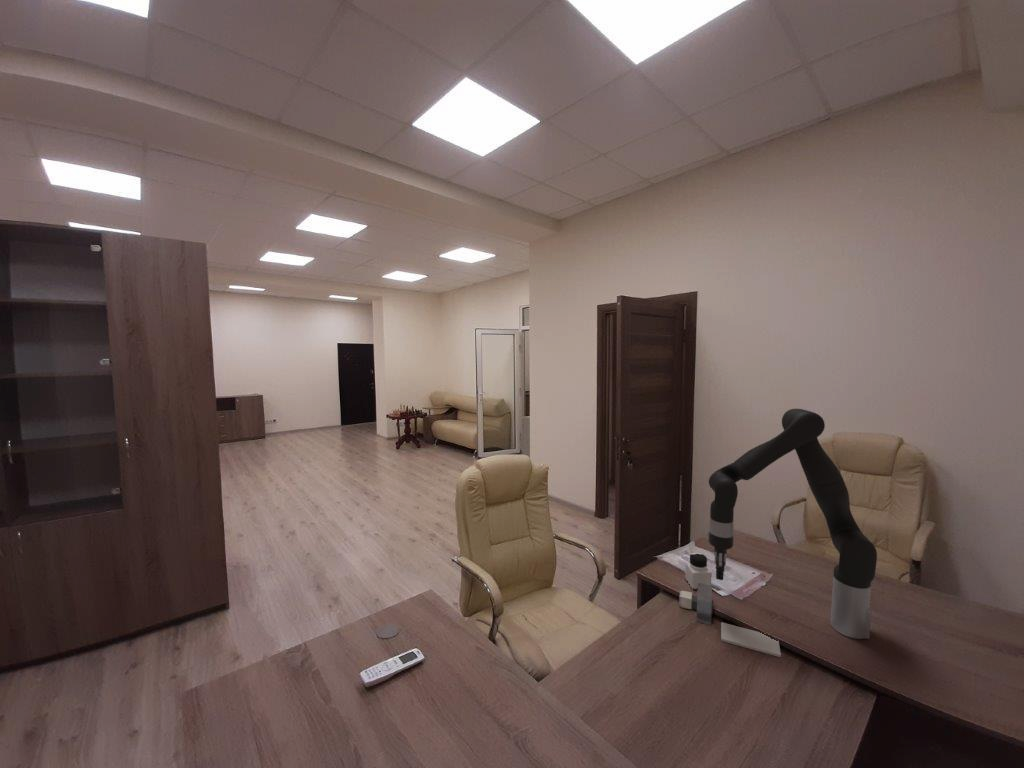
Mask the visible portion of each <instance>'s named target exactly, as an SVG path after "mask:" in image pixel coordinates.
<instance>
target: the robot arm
mask: <svg viewBox="0 0 1024 768" xmlns="http://www.w3.org/2000/svg"><path fill="white" fill-rule="evenodd" d="M781 425H782V426H781V427H782V429H783V430H782V432H780V433H779V434H777V435H776V436H775V437H773V438H771V439H769V440H768V441H766V442H762V443H761V444H759V445H757V446H755V447H753V448H751V449H750V450H748V451H746V452H745V453H744V454H742V455H741V456H740V457H738V458H737V459H735V461H734V462H732V463H729V464H727V465H725V466H723V467H721V468H718V469H717V470H716V471H714V472H713V473H712V474H711V475H710V476H709V478H708V485H709V487H710V488H711V489H712V490H713V492H714V499H713V500H712V501H711V503H710V507H709V508H710V509H709V515H710V517H709V521H708V522H709V523H708V543H709V545H711V546H712V547H713V555H714V564H715V570H716V571H715V578H716V580H720V581H723V580H724V572H725V566H726V565H727V558H728V550H730V549H732V548H733V547H734V540H735V539H734V535H735V525H734V515H735V513H734V509H735V506H736V503H737V500H738V499H737V498H738V491H739V490H738V485H737V482H739V481H741V480H743V481H749V480H751V479H753V478H754V477H755V476H757V475H758V474H759V473H761V472H762V471H763V470H765V469H766V468H768V466H770V465H772V464H773V463H775V462H776V461H777V460H779V459H781V458H782V457H784V456H786V455H787V454H789V453H791V452H793V451H794V450H795V453H796V455H797V457H798V461H799V462H800V466H801V468H802V470H803V473H804V475H805V477H806V478H805V479H806V481H807V484H808V486H809V488H810V490H811V493H812V495H813V497H814V499H815V501H816V503H817V505H818V506H819V508H820V510H821V512H822V513H823V515H824V518H825V521H826V524H827V527H828V531H829V535H830V539H831V541H832V545H833V547H834V548H835V549H836V550H837V551H836V552H838V553H839V560H838V564H837V565H835V566H834V568H833V576H832V593H831V606H830V620H829V621H830V626H831V627H832V628H833V629H834V630H835V631H836V632H837V633H839V634H841V635H843V636H845V637H847V638H851V639H856V640H863V639H867V640H870V635H871V622H872V610H871V608H870V602H871V600H870V599H871V587H872V582H873V580H874V579H875V576H876V570H877V562H878V553H877V549H876V546H875V545H874V544H873V543H872V541H871V540H870V539H869V538H867V536H866V535H865V534H864V533H863V532H862V531H861V529H860V527H859V526H858V523H857V522H856V520H855V518H854V516H853V514H852V511H851V505H850V494H849V491H848V488H847V485H846V483H845V481H844V478H843V476H842V473H841V471H840V470H839V469H838V467H837V465H836V464H835V462H834V461H833V460H832V459H831V457H830V456H829V455H828V454H827V452H826V451H825V450H824V448H823V447H822V445H821V444H820V441H819V439H818V437H820V436H821V435H822V434H823V432H824V431H825V425H826V424H825V419H824V418H823V417H822V416H821V415H820V414H818V413H816V412H814V411H811V410H808V409H803V408H792V409H788V410H787V411H786V412H784V414H783V415H782V418H781Z"/></svg>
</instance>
